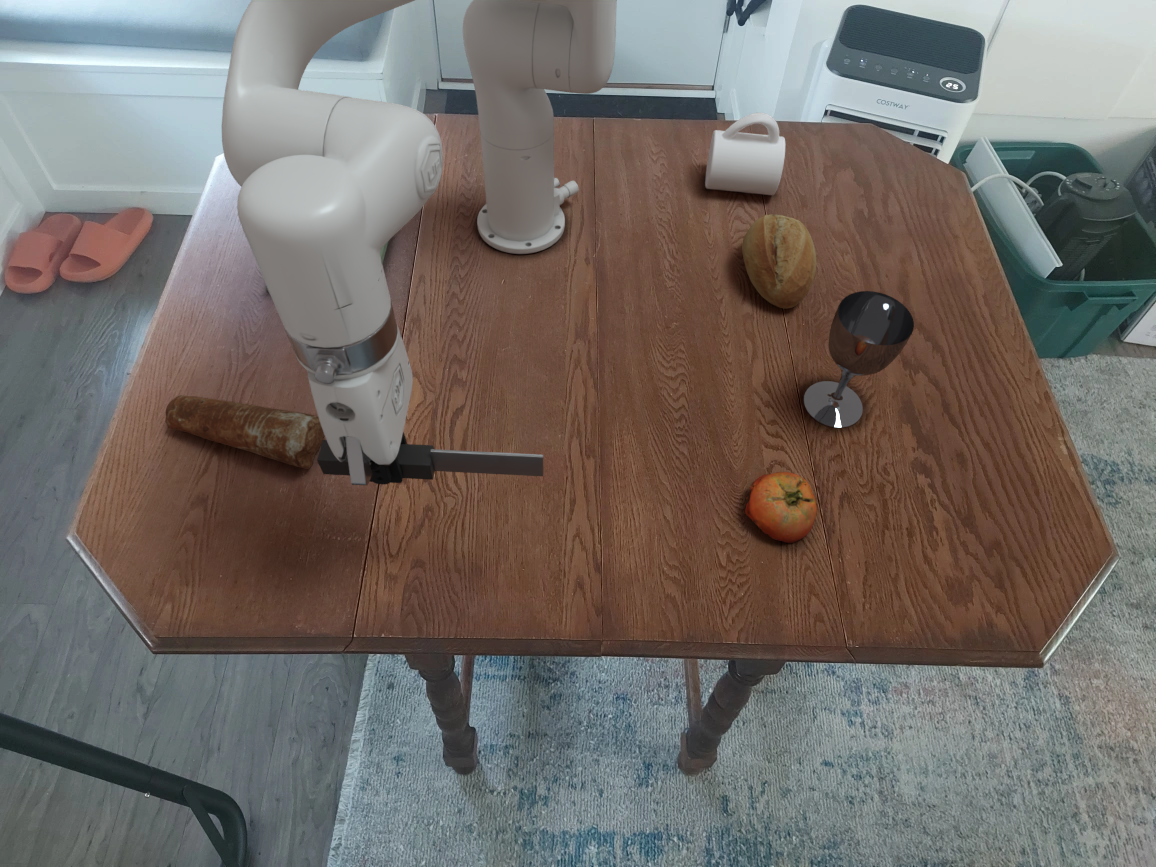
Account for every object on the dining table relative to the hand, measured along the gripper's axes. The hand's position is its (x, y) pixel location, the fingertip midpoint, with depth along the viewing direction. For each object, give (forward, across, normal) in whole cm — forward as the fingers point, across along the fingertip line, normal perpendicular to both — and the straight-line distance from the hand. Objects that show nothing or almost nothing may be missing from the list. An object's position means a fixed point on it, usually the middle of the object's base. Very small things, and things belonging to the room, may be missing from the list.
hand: (388, 465), depth 69 cm
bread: (+14, +11, +20) cm, 27 cm away
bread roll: (+14, +42, -43) cm, 62 cm away
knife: (0, 0, -4) cm, 4 cm away
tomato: (+14, +5, -40) cm, 42 cm away
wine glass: (+14, +20, -48) cm, 54 cm away
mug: (+14, +62, -40) cm, 75 cm away
